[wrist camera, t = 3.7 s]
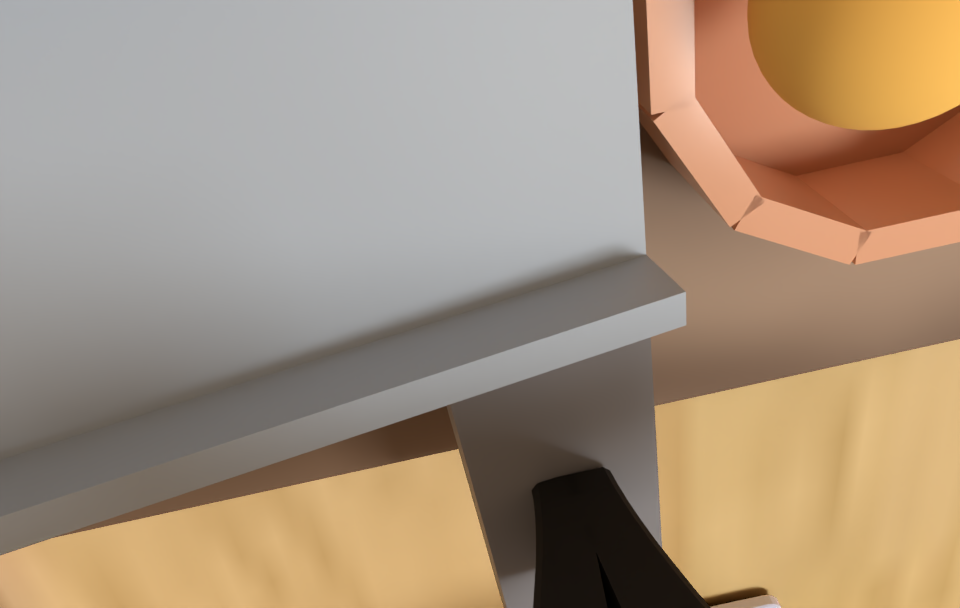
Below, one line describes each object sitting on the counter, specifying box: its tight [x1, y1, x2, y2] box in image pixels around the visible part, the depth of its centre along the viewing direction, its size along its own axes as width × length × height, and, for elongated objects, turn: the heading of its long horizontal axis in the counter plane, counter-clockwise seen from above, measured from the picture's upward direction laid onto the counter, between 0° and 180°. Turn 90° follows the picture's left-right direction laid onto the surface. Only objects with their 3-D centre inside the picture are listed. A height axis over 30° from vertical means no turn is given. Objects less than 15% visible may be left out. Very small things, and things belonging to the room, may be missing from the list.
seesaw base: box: [53, 122, 960, 538], centre depth 11 cm, size 14×26×4 cm, turn 100°
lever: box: [0, 0, 686, 608], centre depth 9 cm, size 13×15×4 cm
